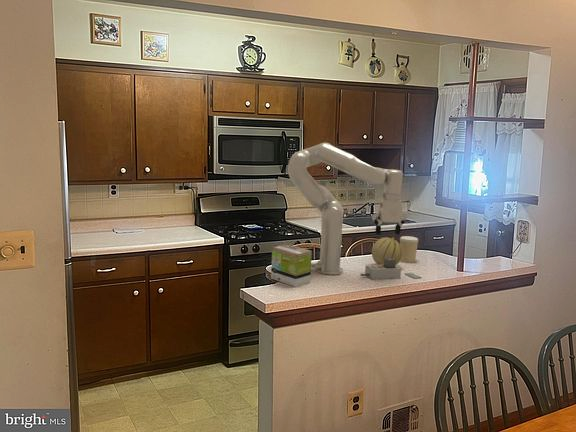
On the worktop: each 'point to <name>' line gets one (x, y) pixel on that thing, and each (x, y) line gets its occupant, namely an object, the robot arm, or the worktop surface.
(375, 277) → the machine vise
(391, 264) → the charger
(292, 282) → the tea box
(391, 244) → the cantaloupe
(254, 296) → the worktop surface
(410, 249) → the coffee cup
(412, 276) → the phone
